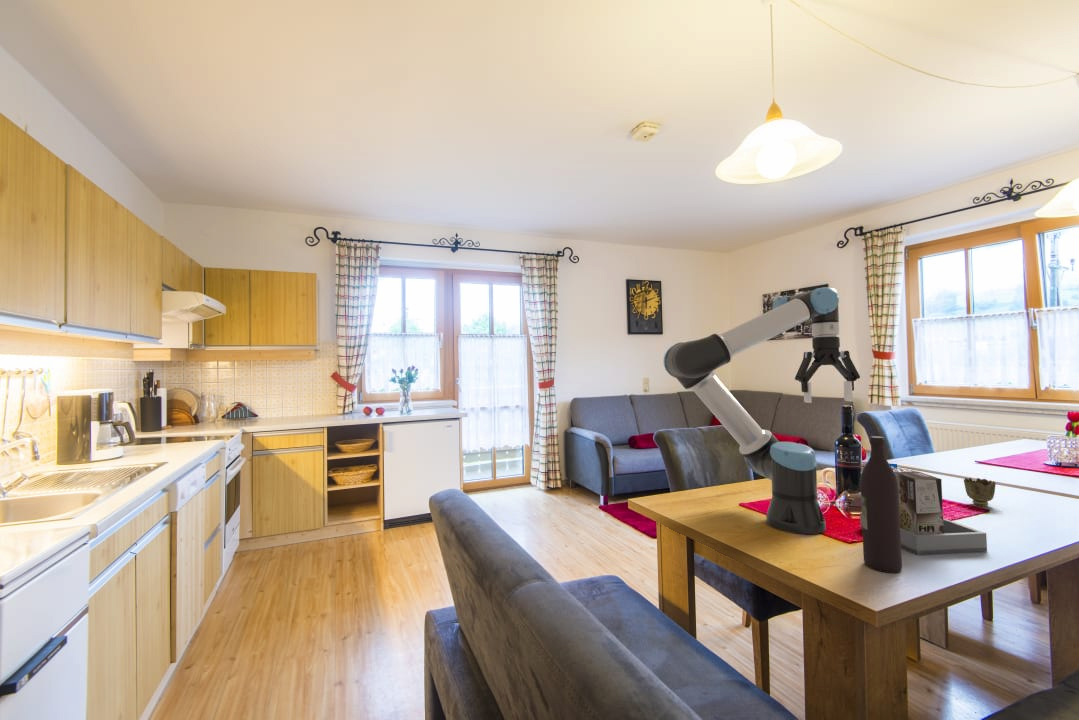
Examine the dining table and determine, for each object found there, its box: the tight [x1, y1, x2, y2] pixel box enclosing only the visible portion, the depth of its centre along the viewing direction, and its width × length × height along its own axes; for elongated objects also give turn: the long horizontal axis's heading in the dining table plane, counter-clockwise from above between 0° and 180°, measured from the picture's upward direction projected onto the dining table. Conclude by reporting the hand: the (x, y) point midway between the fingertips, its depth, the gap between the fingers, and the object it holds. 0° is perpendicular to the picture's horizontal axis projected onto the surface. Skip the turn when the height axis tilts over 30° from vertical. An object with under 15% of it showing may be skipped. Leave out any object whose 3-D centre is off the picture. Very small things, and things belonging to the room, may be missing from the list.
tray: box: [859, 512, 988, 556], centre depth 119 cm, size 18×18×4 cm
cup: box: [963, 477, 996, 507], centre depth 145 cm, size 8×7×8 cm
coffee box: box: [894, 470, 944, 535], centre depth 119 cm, size 9×6×16 cm
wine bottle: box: [860, 435, 903, 574], centre depth 104 cm, size 7×7×30 cm
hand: (828, 402), depth 145 cm, fingers open, 13 cm apart
